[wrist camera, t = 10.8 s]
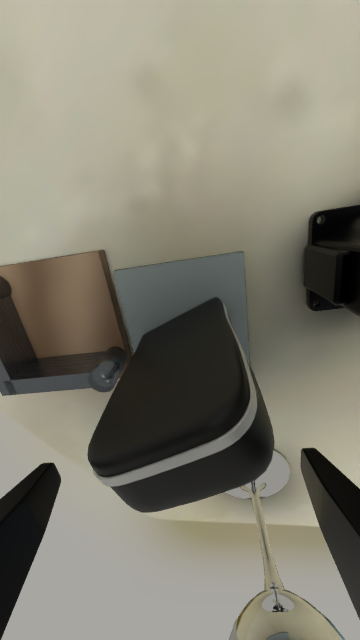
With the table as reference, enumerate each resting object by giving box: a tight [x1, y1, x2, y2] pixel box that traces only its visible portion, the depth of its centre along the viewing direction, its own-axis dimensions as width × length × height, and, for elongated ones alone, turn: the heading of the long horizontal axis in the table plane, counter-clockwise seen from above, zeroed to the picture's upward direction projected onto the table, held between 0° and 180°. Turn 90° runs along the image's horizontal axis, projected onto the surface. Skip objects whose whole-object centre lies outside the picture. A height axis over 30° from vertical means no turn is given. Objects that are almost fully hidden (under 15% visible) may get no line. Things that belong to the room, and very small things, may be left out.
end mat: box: [113, 251, 250, 365], centre depth 19 cm, size 9×11×1 cm
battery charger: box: [88, 297, 274, 512], centre depth 13 cm, size 7×4×11 cm, turn 120°
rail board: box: [0, 250, 132, 378], centre depth 19 cm, size 11×10×1 cm
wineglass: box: [225, 450, 345, 640], centre depth 15 cm, size 8×8×20 cm
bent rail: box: [0, 276, 128, 396], centre depth 17 cm, size 9×8×3 cm
